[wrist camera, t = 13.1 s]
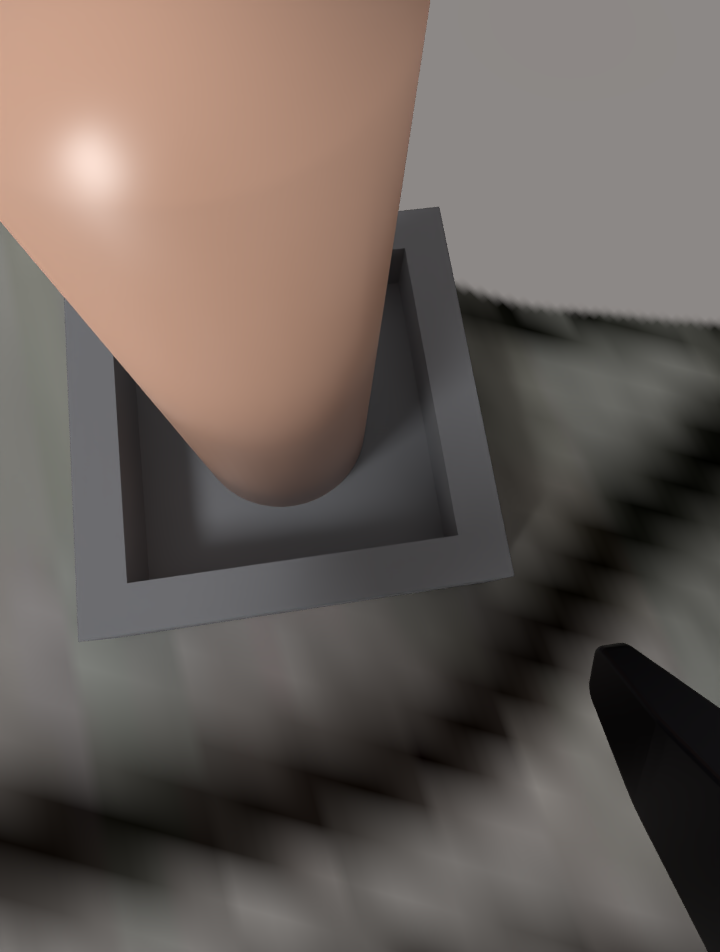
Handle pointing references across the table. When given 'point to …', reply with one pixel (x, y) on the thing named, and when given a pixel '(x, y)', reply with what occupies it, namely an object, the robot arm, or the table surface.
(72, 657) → the table surface
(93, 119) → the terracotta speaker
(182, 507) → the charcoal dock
